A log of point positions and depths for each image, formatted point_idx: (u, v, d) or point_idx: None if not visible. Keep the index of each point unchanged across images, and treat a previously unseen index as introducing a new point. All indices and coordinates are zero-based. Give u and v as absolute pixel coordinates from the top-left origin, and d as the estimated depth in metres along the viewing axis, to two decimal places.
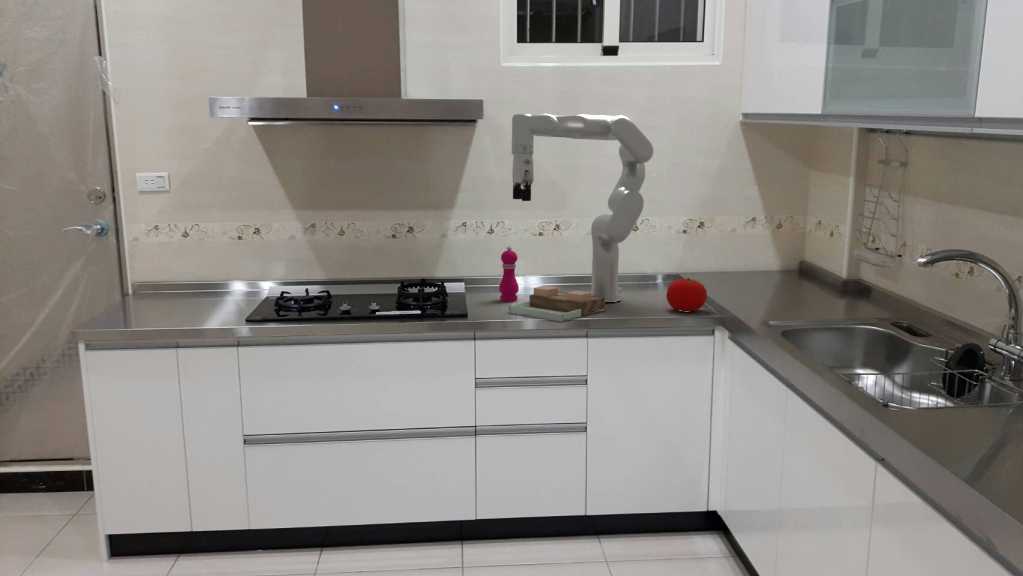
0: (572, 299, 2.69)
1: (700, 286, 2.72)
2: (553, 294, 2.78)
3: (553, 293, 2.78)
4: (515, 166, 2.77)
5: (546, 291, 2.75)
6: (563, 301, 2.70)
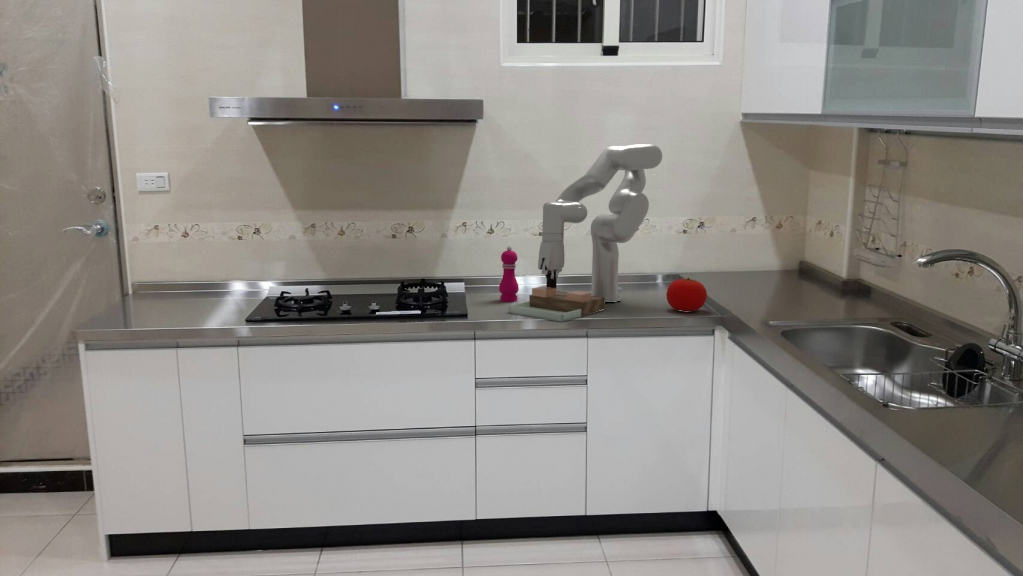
0: (572, 299, 2.69)
1: (700, 286, 2.72)
2: (551, 294, 2.77)
3: (552, 293, 2.77)
4: (557, 254, 2.78)
5: (544, 291, 2.74)
6: (563, 301, 2.70)
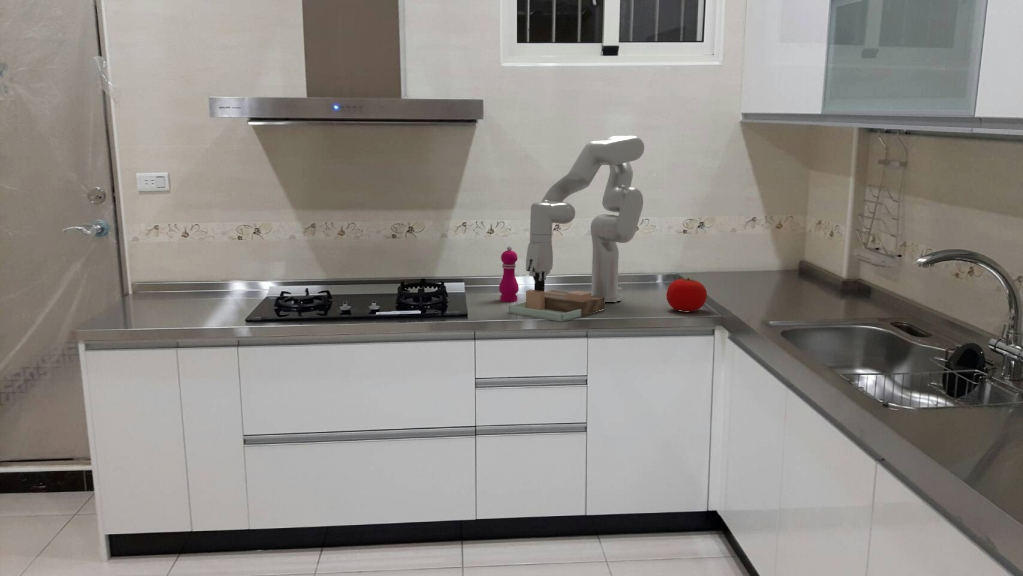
0: (572, 299, 2.69)
1: (700, 286, 2.72)
2: (543, 298, 2.74)
3: (542, 298, 2.73)
4: (545, 255, 2.72)
5: None
6: (563, 301, 2.70)
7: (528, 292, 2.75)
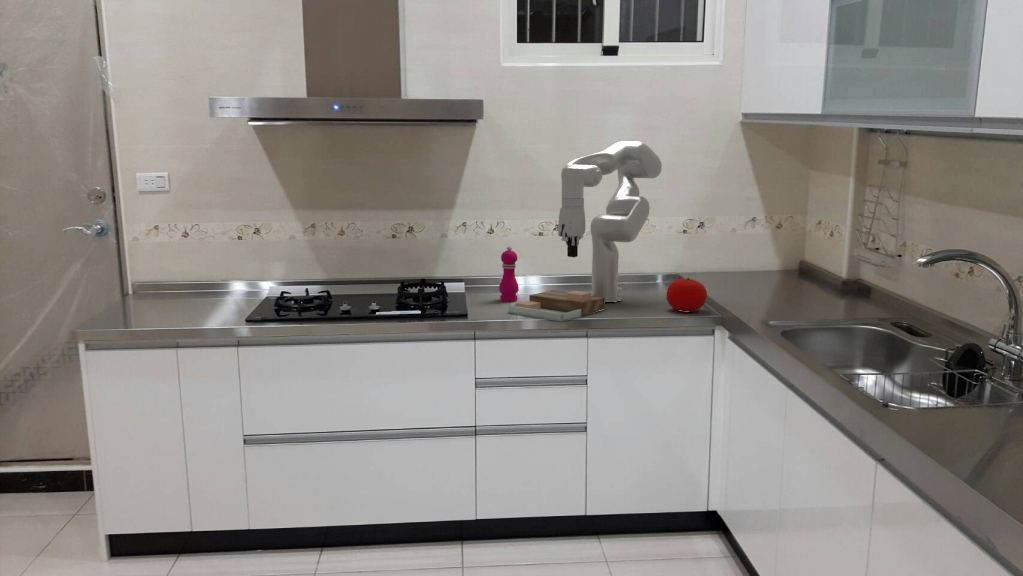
0: (572, 299, 2.69)
1: (700, 286, 2.72)
2: (534, 305, 2.70)
3: (533, 306, 2.70)
4: (577, 220, 2.70)
5: None
6: (563, 301, 2.70)
7: None
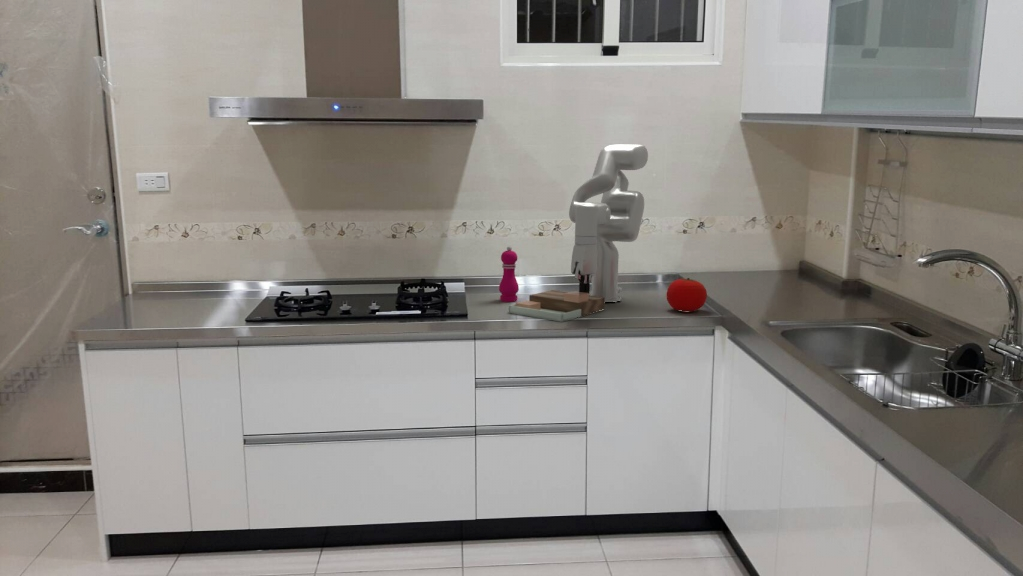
0: (569, 300, 2.67)
1: (700, 286, 2.72)
2: (534, 305, 2.70)
3: (533, 306, 2.70)
4: (591, 258, 2.69)
5: None
6: (563, 301, 2.70)
7: None
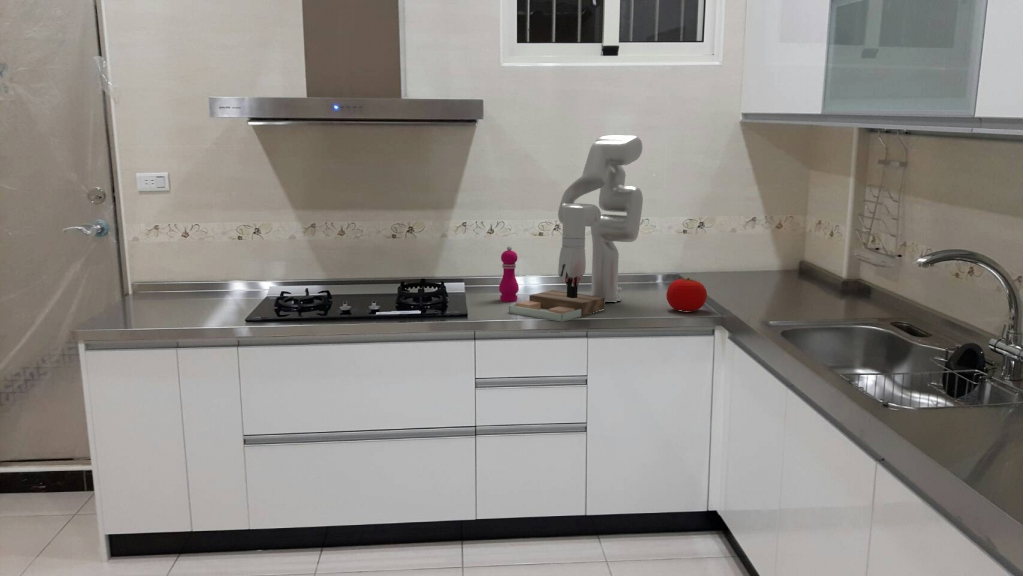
0: None
1: (700, 286, 2.72)
2: (534, 305, 2.70)
3: (533, 306, 2.70)
4: (578, 260, 2.63)
5: None
6: (563, 301, 2.70)
7: None
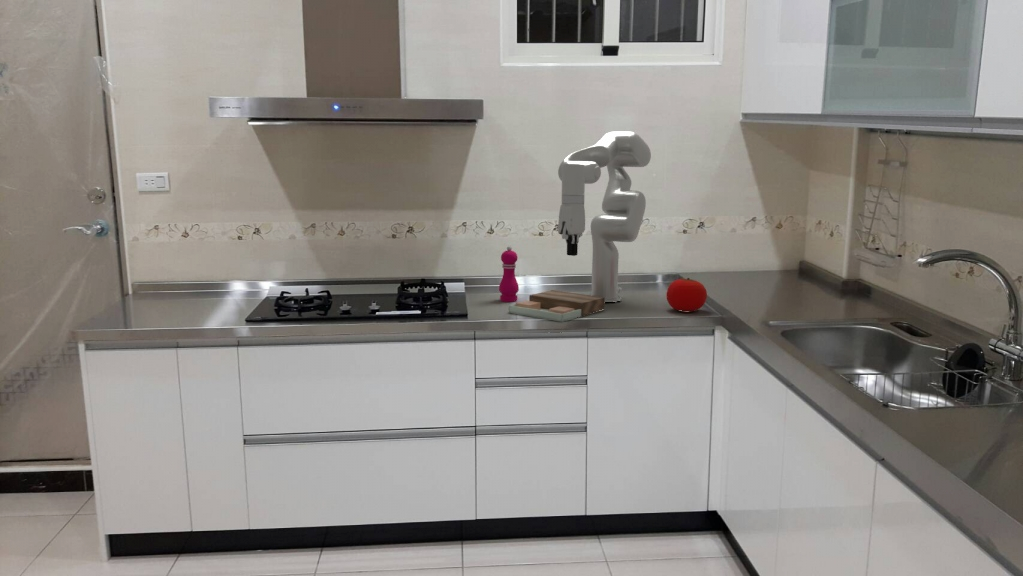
0: None
1: (700, 286, 2.72)
2: (534, 305, 2.70)
3: (533, 306, 2.70)
4: (578, 217, 2.63)
5: None
6: (563, 301, 2.70)
7: None
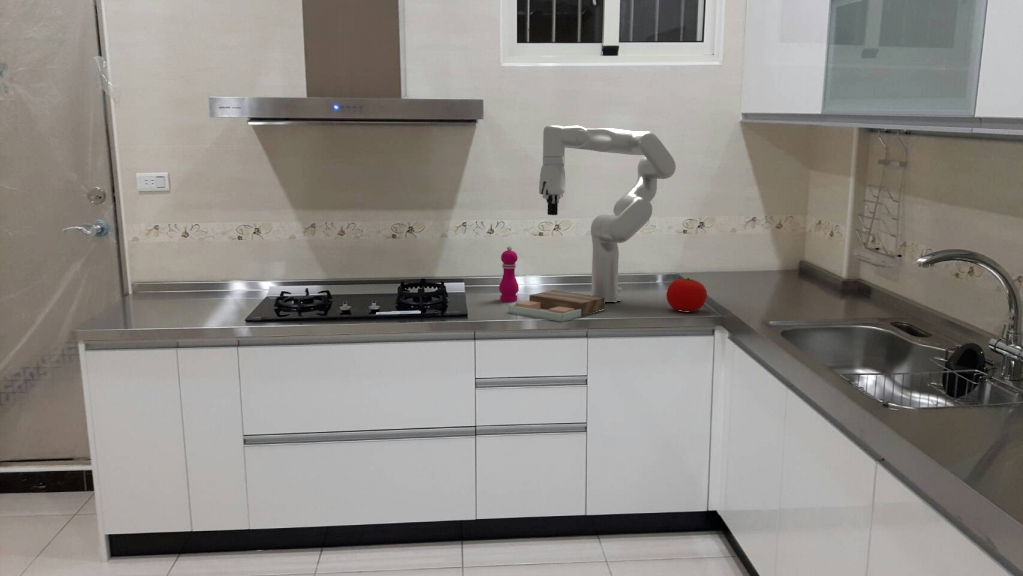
0: None
1: (700, 286, 2.72)
2: (534, 305, 2.70)
3: (533, 306, 2.70)
4: (558, 178, 2.77)
5: None
6: (563, 301, 2.70)
7: None
